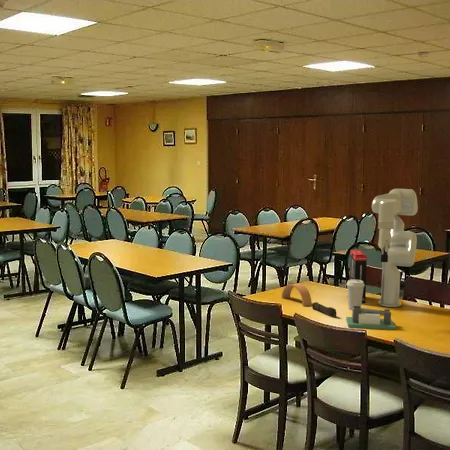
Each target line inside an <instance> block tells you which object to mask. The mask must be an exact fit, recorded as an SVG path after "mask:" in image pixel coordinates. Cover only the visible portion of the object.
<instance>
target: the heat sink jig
mask: <svg viewBox="0 0 450 450" xmlns="http://www.w3.org/2000/svg"><path fill="white" fill-rule="evenodd" d="M358 308H360V306H358ZM358 308H357V306H352V310H351V316H346V317H345V318H346V319H345V321H346V323H347V328H352V329H354V328H355V329H372V330H375V329H376V330H389V331H391V330H394V331H396V328H397V327H396V325H395V323H394V321H393V319H392V312H391V310H390V309H386V308H385V309H383V311H388V312H386V314H383V318H381V313H372V312H363V311H361V309H358Z"/></svg>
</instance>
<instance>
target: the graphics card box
mask: <svg viewBox="0 0 450 450" xmlns="http://www.w3.org/2000/svg"><path fill="white" fill-rule="evenodd" d="M349 259H350V260H349V280H361V281H363V282H364V284H365V286H364V288H363V296H362V303H361V304H363V303H364V304H365V303H366V297H367V296H366V292H367V291H366V290H367V265H368V264H367V263H368V262H367V261H368V260H367V259H368V257H367V255H366V254H365V252H364V251H362V250H361V249H350V257H349Z"/></svg>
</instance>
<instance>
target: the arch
mask: <svg viewBox="0 0 450 450" xmlns="http://www.w3.org/2000/svg"><path fill="white" fill-rule="evenodd" d="M294 288H295V289H296V290H297V291H298V293H299V294H300V297H301V298H300V299H301V300H302V301H301V302H302V307H308V306H309V307H310V306H312V304H313V302H312V301H313V300H312V297H311V293H310V291H309V289H308V288H307V287H306V286H305V285H304V284H302V283H301V282H300V283H299V282H298V283H290V284H287V285H286V286H284V288H283V289H282V292H281V299H289V298H291V294H292V290H293V289H294Z"/></svg>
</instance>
